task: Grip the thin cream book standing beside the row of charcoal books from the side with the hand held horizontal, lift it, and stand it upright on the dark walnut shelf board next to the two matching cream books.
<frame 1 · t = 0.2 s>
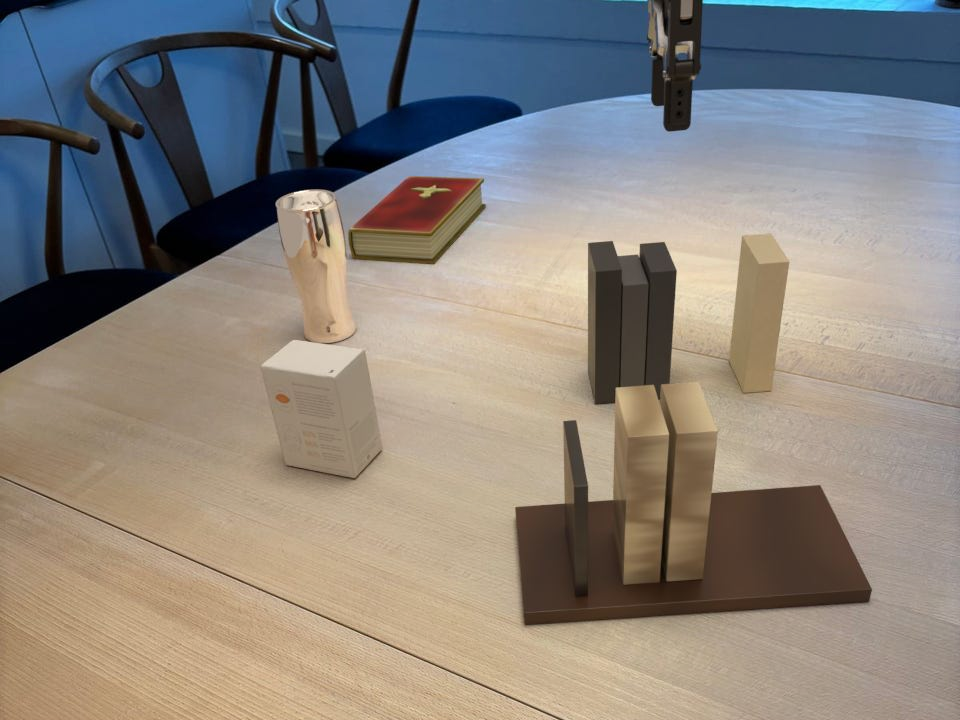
hand: (669, 116, 86), 24 cm above the table, tool pointing down, fingers open, 8 cm apart
small box: (334, 459, 94), on the table
hardcover book: (421, 233, 137), on the table
cream book: (749, 375, 100), on the table
grey books: (627, 384, 100), on the table
shelf: (680, 556, 79), on the table
beer glass: (330, 333, 115), on the table
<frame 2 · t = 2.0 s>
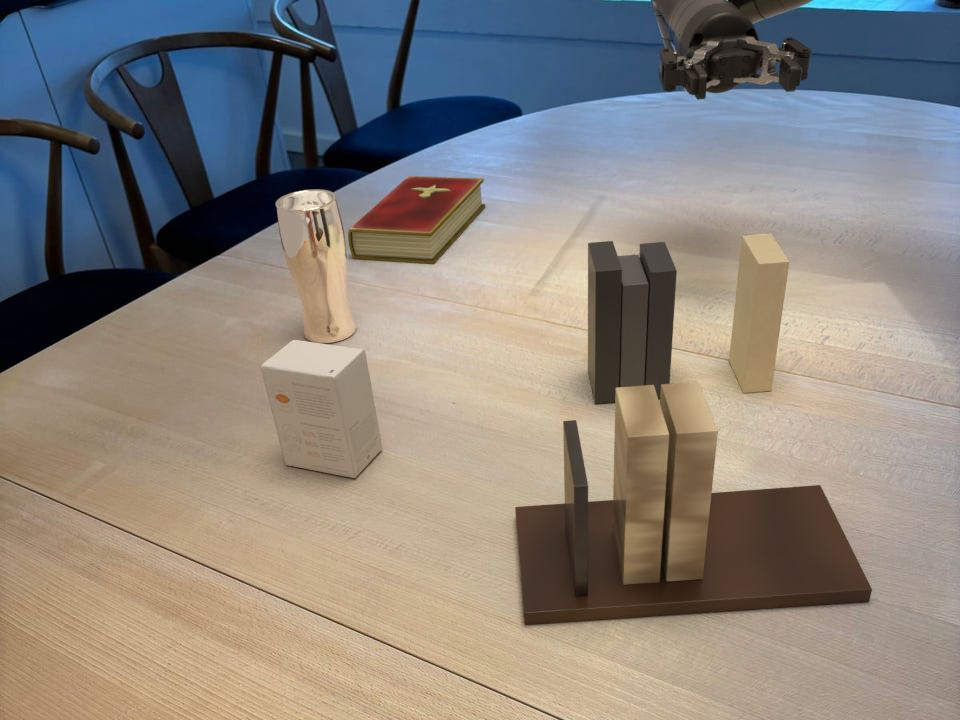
hand: (748, 83, 93), 24 cm above the table, tool horizontal, fingers open, 8 cm apart
nothing on the table moved.
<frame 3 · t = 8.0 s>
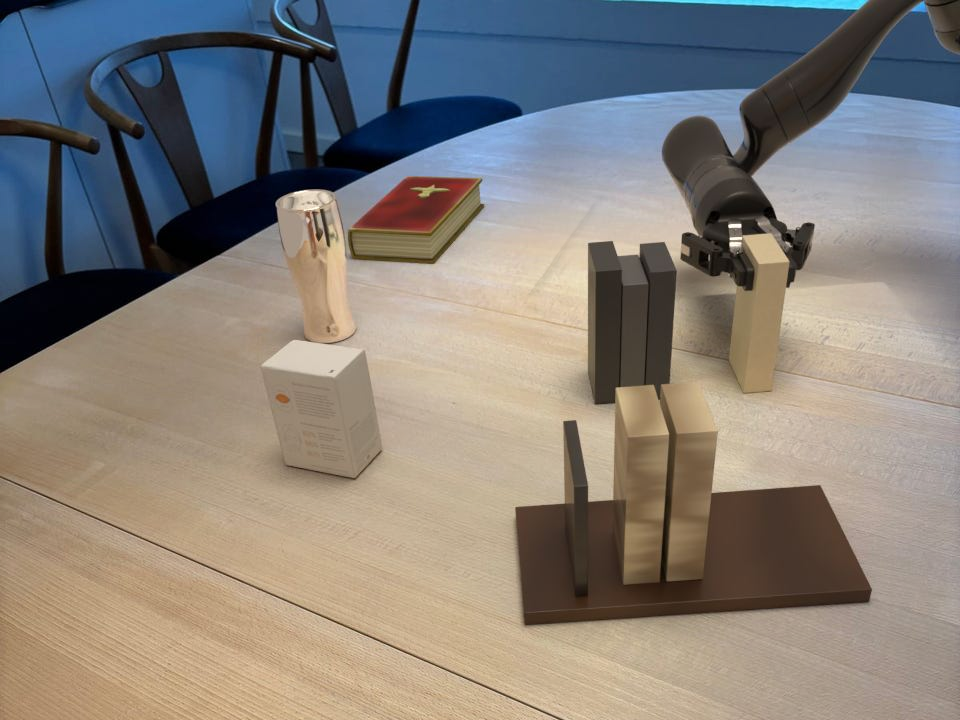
hand: (768, 279, 91), 11 cm above the table, tool horizontal, fingers closed on cream book, 3 cm apart
cream book: (749, 375, 100), on the table, touching gripper
everything else where it was.
when the fingers open (12 cm above the table, at t = 20.6 s): cream book stays where it is, resting on shelf.
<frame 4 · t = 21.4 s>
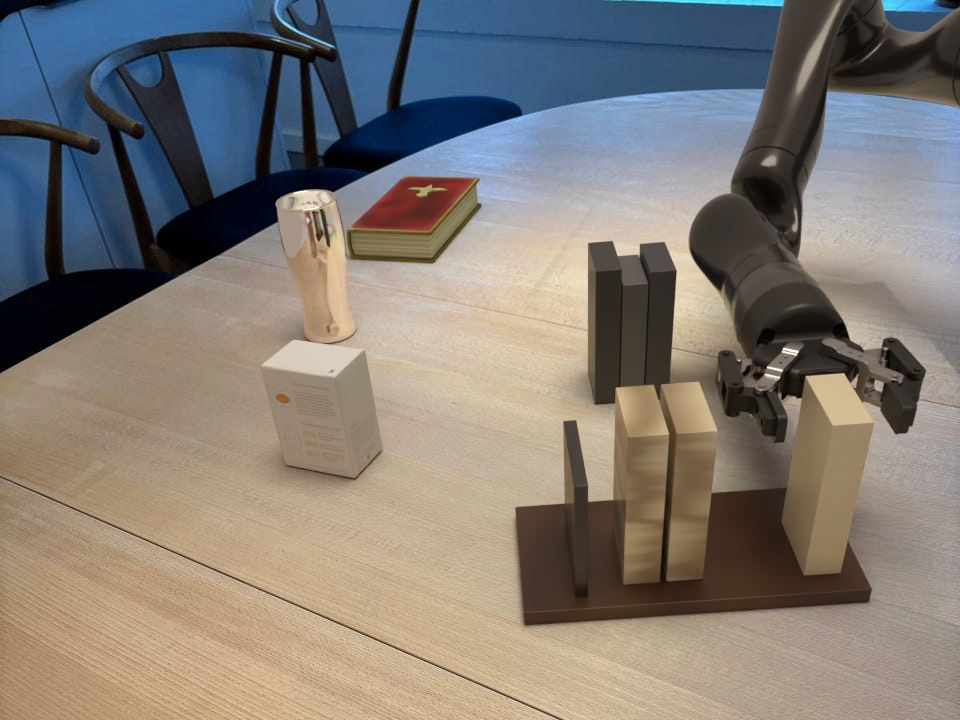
hand: (843, 427, 68), 13 cm above the table, tool horizontal, fingers open, 8 cm apart
cream book: (809, 547, 77), point 1 cm above the table, touching shelf
everything else where it was.
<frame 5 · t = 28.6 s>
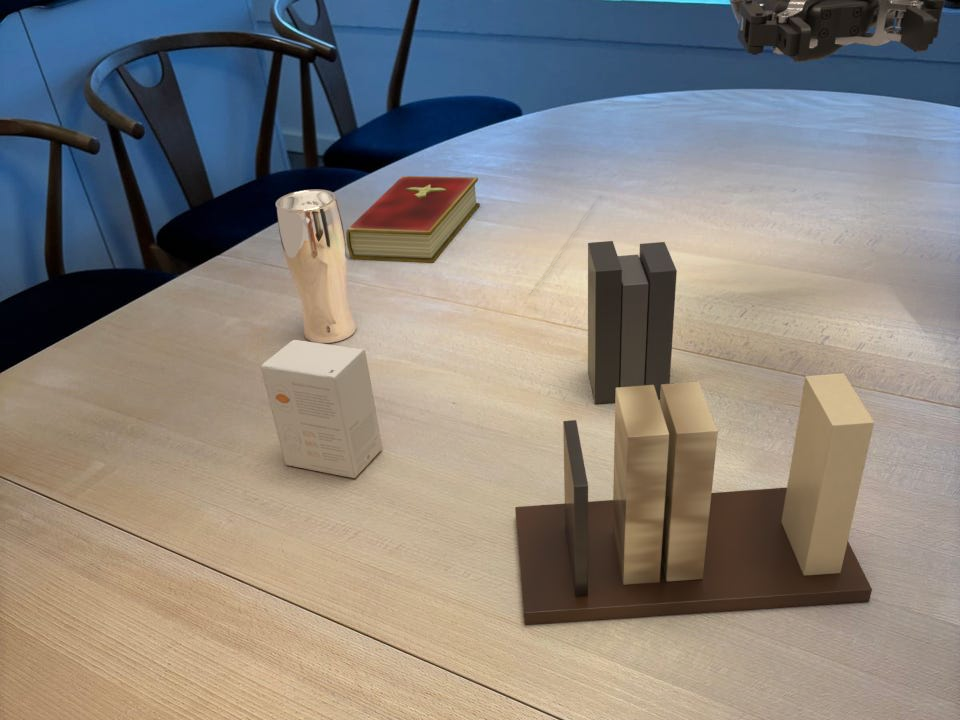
hand: (865, 40, 70), 32 cm above the table, tool horizontal, fingers open, 8 cm apart
nothing on the table moved.
at the end: cream book inside the target area on the shelf (0.4 cm from its centre), point 1.2 cm above the shelf's base; cream book tilted 0°; the gripper is holding nothing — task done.
